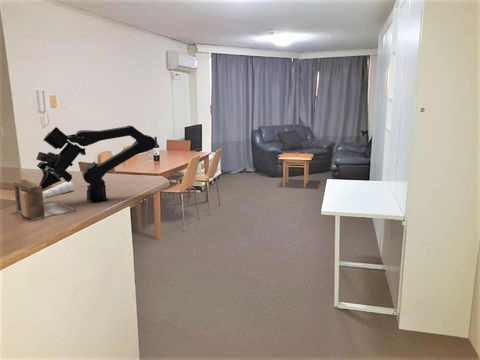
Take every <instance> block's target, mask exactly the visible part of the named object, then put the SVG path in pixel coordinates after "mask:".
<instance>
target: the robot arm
mask: <svg viewBox="0 0 480 360" xmlns="http://www.w3.org/2000/svg"><path fill="white" fill-rule="evenodd" d="M128 136H129V137H131V138H132V139H133V140H135V141H134V142H133V143H132V144H131V145H130V146H129V147H127V148H125V149H123V150H122V151H120V152H118V153H116V154H114V155H113V156H111V157H109V158H108V159H106V160H104V161H103V162H100V163H96V161H93V162H92V163H90V164H89V165H85V168H84V169H83V170H82V173H81V174H82V178H83V180H84V182H85V183H87V184H89V185H87V186H86V187H87V189H86V201H89V202H91V203H99V202H105V201H108V200H109V198H108V197H107V192H106V191H107V190H106V189H107V187H106V182H105V180H104V176H105V175H106V174H107V173H108V172H109V171H111V170H113V169H114V168H116V167H118V166H120V165H122V164H123V163H125V162H126V161H128V160H129V159H131V158H133V157H135V156H137V155H139V154H143V153H146V152H149V151H151V150H153V149H155V147H156V140H155V138H154V137H152V136H150V135H148V134H144V133H142V132H141V131H140V130H138V129H137V128H136V127H135V126H133V125H131V124H130V125H127V126H121V127H113V128H108V129H107V128H106V129H102V130H90V129H89V130H84V129H82V130H81V129H80V130H78V131H77V132H76V133H74V134H69V135H67V134H65V133H64V132H63V131H62V130H60V128H58V127H57V126H55V127H54V128H52V130H50V131H49V132H48V133H47V134H46V136H45V137H44V138H43V139H42V140H43V141H44V142H45V143H47V144H48V145H49V146H51V147H52V148H53V149H55V150H60V152H59V153H54V152H50V151H49V152H47V153H45V152H41V151H38V154H37V156H36V160H37V161H40V162H39V163H38V164H37V165H36V167H37V168H39V169H40V170H41V172H42V177H41V180H40V182H39V184H38V185H39V186H42V191H44V190H45V189H48V188H49V187H51V186H53V185H55V184H57V183H59V182H61V181H62V179H63V180H64V182H70V181H71V182H72V180H73V176H72V174H71V173H69V172H68V171H67V170H68V168H69V167H72V166H74V164H73V162H74V161H75V160H76V159H77V157H78V156H79V155H81V156H86V155H87V152H86V148H85V147H87V146H91V145H93V144H94V145H95V144H96V143H98V142H101V141H106V140H112V139H118V138H124V137H128ZM80 146H81V147H80ZM82 147H84V148H82ZM61 149H62V150H61ZM61 178H62V179H61Z"/></svg>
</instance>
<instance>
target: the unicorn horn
mask: <svg viewBox="0 0 480 360" xmlns="http://www.w3.org/2000/svg"><path fill="white" fill-rule="evenodd" d="M74 189H75V185H74V183H73V182H72V180H71V181H70V182H66V181H64V182H63V183H60V184H57V185H55V186H53V187H51V188H49V189H48V188H47V190H43V191H42V192H43V199H46V198H50V197H55V196H59V195H61V194H65V193H70V192H73V191H74Z"/></svg>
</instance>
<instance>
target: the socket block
mask: <svg viewBox="0 0 480 360" xmlns="http://www.w3.org/2000/svg"><path fill="white" fill-rule="evenodd" d="M39 185H40V184H37V183H34V182H32V181H30V180H28V179H19V180H13V188H14V196H15V204H16V205H15V207H16V212H18V211H19V212H18V213H20V214H21V213H22V210H21V204H20V195H19V188H21V191H27V192H28V196H29V205H30V214H31V217H27V218H28V219H30V220H32V221H35V220H36V221H37V220H40V219H45V218H49V217H54V216H59V215H62V214H67V213H72V212H76V209H74V208H72V207H70V206H68V205H66V204H64V203H62V202H60V201H55V202H54V201H53V202H49V203H44V205H43V202H44V198H43V195H42V192H43V190H42V186H39ZM44 211H45V214H44Z"/></svg>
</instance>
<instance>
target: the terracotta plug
mask: <svg viewBox="0 0 480 360" xmlns="http://www.w3.org/2000/svg"><path fill="white" fill-rule="evenodd" d="M43 192H44V191H42V195H43ZM20 199H21V207H22V216H23V217H25V218H28V217H31V214H30V205H29V196H28V192H27V191H20ZM44 204H45V202H44V201H43V205H44ZM44 214H45V211H44Z"/></svg>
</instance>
